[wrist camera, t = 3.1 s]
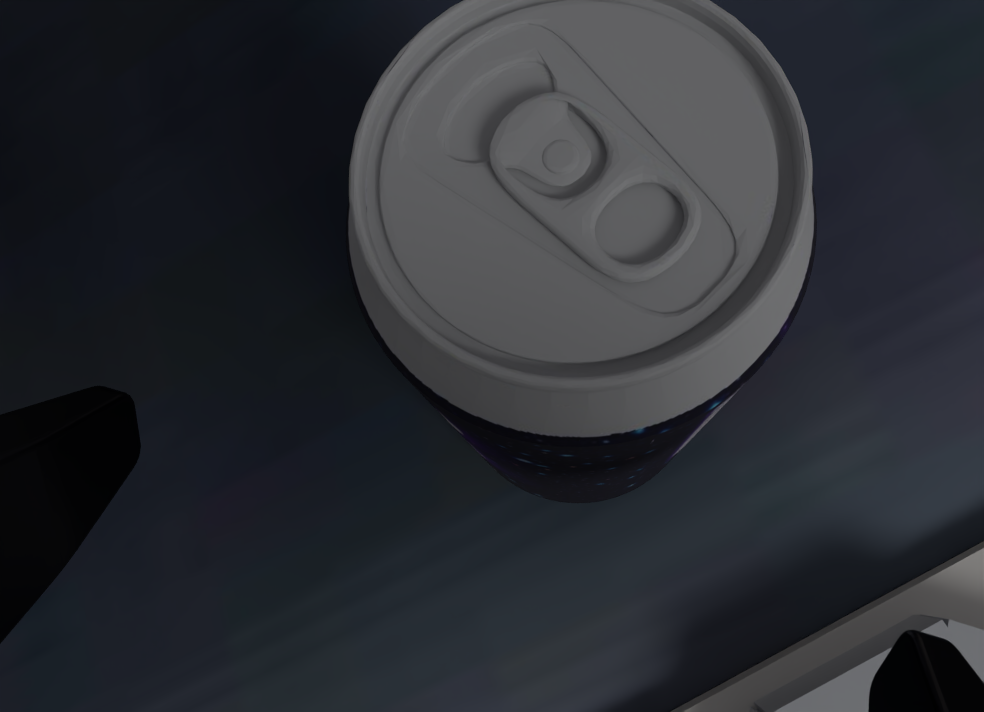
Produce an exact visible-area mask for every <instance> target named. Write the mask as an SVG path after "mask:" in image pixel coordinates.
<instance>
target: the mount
mask: <svg viewBox="0 0 984 712" xmlns="http://www.w3.org/2000/svg"><path fill="white" fill-rule="evenodd" d="M906 630H917V631H920V632H924V633H927V634H930V635H934V636H937V637H940V638H944V639H946V640H948V641H950V642H951V643H952V644H953V645H954V646H955V647H956V648H957V649H958V650H959V651H960V653H961V654H962V655H963V656H964V658H965V659H966V660H967V662H968V663H969V664H970V666H971V667H972V668H973V669H974V671H975V672H976V673H977V675H978V676H979V677H980V678H981V680H982V681H983V682H984V541H983V542H981V543H979V544H978V545H976V546H974V547H972V548H970V549H968V550H967V551H965V552H963V553H961V554H959V555H957V556H955V557H954V558H952V559H950V560H948V561H946V562H944V563H943V564H941V565H939V566H937V567H935V568H933V569H932V570H930V571H928V572H926V573H924V574H922V575H921V576H919V577H917V578H915V579H913V580H911V581H910V582H908V583H906V584H904V585H902V586H900V587H898V588H897V589H895V590H893V591H891V592H889V593H887V594H886V595H884V596H882V597H880V598H878V599H876V600H875V601H873V602H871V603H869V604H867V605H865V606H864V607H862V608H860V609H858V610H856V611H854V612H853V613H851V614H849V615H847V616H845V617H843V618H841V619H840V620H838V621H836V622H834V623H832V624H830V625H829V626H827V627H825V628H823V629H821V630H819V631H818V632H816V633H814V634H812V635H810V636H808V637H807V638H805V639H803V640H801V641H799V642H797V643H796V644H794V645H792V646H790V647H788V648H786V649H784V650H783V651H781V652H779V653H777V654H775V655H773V656H772V657H770V658H768V659H766V660H764V661H762V662H761V663H759V664H757V665H755V666H753V667H751V668H750V669H748V670H746V671H744V672H742V673H740V674H739V675H737V676H735V677H733V678H731V679H729V680H727V681H726V682H724V683H722V684H720V685H718V686H716V687H715V688H713V689H711V690H709V691H707V692H705V693H704V694H702V695H700V696H698V697H696V698H694V699H693V700H691V701H689V702H687V703H685V704H683V705H682V706H680V707H678V708H676V709H674V710H672V711H670V712H868V709H869V692H870V687H871V683H872V680H873V678H874V676H875V674H876V672H877V671H878V669H879V667H880V666H881V664H882V663H883V661H884V660H885V658H886V657H887V655H888V653H889V652H890V650H891V649H892V647H893V646H894V644H895V642H896V641H897V639H898V638H899V636H900V635H901V634H902V633H903V632H905V631H906Z"/></svg>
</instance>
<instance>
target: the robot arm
mask: <svg viewBox="0 0 984 712" xmlns="http://www.w3.org/2000/svg"><path fill="white" fill-rule="evenodd" d="M140 448H141V444H140V437H139V430H138V424H137V417H136V410H135V404H134V401H133V399H132V398H131V396H130V395H128V394H127V393H124V392H121V391H118V390H114V389H111V388H108V387H104V386H94V387H90V388H87V389H83V390H80V391H77V392H74V393H70V394H67V395H64V396H61V397H57V398H54V399H51V400H47V401H44V402H41V403H38V404H34V405H31V406H28V407H25V408H21V409H18V410H15V411H11V412H8V413H5V414H2V415H0V643H1V642H2V641H3V640H4V639H5V638H6V636H7V635H8V634H9V633H10V632H11V630H12V629H13V628H14V627H15V626H16V625H17V623H18V622H19V621H20V620H21V619H22V617H23V616H24V615H25V614H26V613H27V612H28V610H29V609H30V608H31V607H32V606H33V604H34V603H35V602H36V601H37V600H38V598H39V597H40V596H41V595H42V594H43V593H44V591H45V590H46V589H47V588H48V587H49V585H50V584H51V583H52V582H53V581H54V579H55V578H56V577H57V576H58V574H59V573H60V572H61V571H62V569H63V568H64V567H65V566H66V564H67V563H68V562H69V560H70V559H71V557H72V556H73V555H74V553H75V552H76V551H77V549H78V548H79V546H80V545H81V543H82V542H83V541H84V539H85V538H86V536H87V535H88V533H89V532H90V530H91V529H92V527H93V526H94V525H95V523H96V522H97V520H98V519H99V517H100V516H101V514H102V513H103V512H104V510H105V509H106V507H107V506H108V504H109V503H110V501H111V500H112V498H113V497H114V496H115V494H116V493H117V491H118V490H119V488H120V487H121V485H122V484H123V482H124V481H125V480H126V478H127V477H128V475H129V474H130V472H131V471H132V469H133V468H134V466H135V464H136V463H137V460H138V458H139V454H140ZM868 712H984V682H983V681H982V680H981V678H980V677H979V676H978V675H977V673H976V672H975V671H974V669H973V668H972V667H971V666H970V664H969V663H968V662H967V660H966V659H965V658H964V656H963V655H962V654H961V653H960V651H959V650H958V649H957V648H956V647H955V646H954V645H953V644H952V643H951V642H950V641H948V640H946V639H944V638H940V637H937V636H934V635H930V634H927V633H924V632H920V631H917V630H906V631H905V632H903V633H902V634H901V635H900V636H899V638H898V639H897V641H896V642H895V644H894V646H893V647H892V649H891V650H890V652H889V653H888V655H887V657H886V658H885V660H884V661H883V663H882V664H881V666H880V667H879V669H878V671H877V672H876V674H875V676H874V678H873V680H872V683H871V687H870V692H869V709H868Z"/></svg>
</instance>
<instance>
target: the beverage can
mask: <svg viewBox="0 0 984 712" xmlns="http://www.w3.org/2000/svg"><path fill="white" fill-rule="evenodd" d="M816 231H817V218H816V203H815V197H814V190H813V185H812V156H811V150H810V143H809V137H808V130H807V126H806V123H805V120H804V117H803V114H802V111H801V108H800V105H799V102H798V99H797V96H796V94H795V92H794V90H793V89H792V87H791V85H790V83H789V81H788V79H787V78H786V76H785V74H784V72H783V70H782V68H781V67H780V65H779V64H778V63H777V61H776V60H775V59H774V58H773V56H772V55H771V54H770V53H769V51H768V50H767V49H766V47H765V46H764V45H763V44H762V42H761V41H760V40H759V39H758V38H757V37H756V36H755V35H754V34H753V33H751V32H750V31H749V30H748V29H747V28H746V27H745V26H744V25H743V24H742V23H741V22H739V21H738V20H737V19H736V18H735V17H734V16H732V15H731V14H729V13H728V12H726V11H725V10H723V9H722V8H720V7H719V6H717V5H716V4H714V3H713V2H711V1H710V0H463V1H461V2H460V3H458V4H456V5H454V6H452V7H451V8H449V9H448V10H446V11H445V12H444V13H442V14H441V15H440V16H438V17H437V18H436V19H434V20H433V21H432V22H430V23H429V24H428V25H426V26H425V27H424V28H423V29H422V30H421V31H420V32H419V33H418V34H417V35H416V36H414V37H413V38H412V39H411V40H410V41H409V42H408V43H407V44H406V45H405V46H404V47H403V48H402V49H401V50H400V52H399V53H398V54H397V56H396V57H395V58H394V60H393V61H392V62H391V64H390V65H389V66H388V68H387V69H386V70H385V72H384V73H383V74H382V76H381V77H380V79H379V81H378V83H377V85H376V86H375V88H374V90H373V92H372V94H371V96H370V98H369V99H368V101H367V103H366V105H365V108H364V111H363V114H362V117H361V119H360V122H359V125H358V128H357V131H356V134H355V138H354V144H353V149H352V155H351V161H350V167H349V204H348V211H347V222H346V246H347V258H348V264H349V271H350V276H351V280H352V284H353V288H354V292H355V295H356V298H357V300H358V303H359V306H360V309H361V311H362V313H363V316H364V318H365V320H366V322H367V324H368V326H369V328H370V330H371V332H372V334H373V335H374V337H375V339H376V340H377V342H378V343H379V345H380V346H381V348H382V349H383V351H384V352H385V354H386V355H387V356H388V358H389V359H390V360H391V361H392V363H393V364H394V365H395V366H396V367H397V369H398V370H399V371H400V372H401V373H402V374H403V375H404V376H405V377H406V378H407V379H408V380H409V381H410V383H411V384H412V385H413V386H414V387H415V388H416V389H417V390H418V391H419V392H420V393H421V394H422V395H423V396H424V397H425V398H426V399H427V400H428V401H429V402H430V403H431V404H432V405H433V406H434V407H435V408H436V409H437V410H438V411H439V413H440V414H441V415H442V416H443V417H444V418H445V419H446V420H447V421H448V422H449V423H450V424H451V425H452V426H453V427H454V428H455V429H456V430H457V431H458V432H459V433H460V434H461V435H462V436H463V437H464V438H465V439H466V440H467V441H468V443H469V444H470V445H471V446H472V447H473V448H474V449H475V450H476V451H477V452H478V453H479V454H480V455H481V456H482V457H483V458H484V459H485V460H486V461H487V462H488V463H489V464H490V465H491V466H492V467H493V468H494V469H495V470H496V471H497V472H498V473H499V474H500V475H501V476H503V477H504V478H505V479H507V480H508V481H509V482H511V483H512V484H514V485H515V486H517V487H519V488H521V489H523V490H525V491H527V492H529V493H531V494H534V495H536V496H539V497H542V498H546V499H549V500H554V501H559V502H568V503H589V502H597V501H602V500H607V499H611V498H614V497H617V496H620V495H623V494H625V493H627V492H630V491H632V490H634V489H636V488H637V487H639V486H641V485H643V484H644V483H645V482H647V481H648V480H650V479H651V478H652V477H654V476H655V475H656V474H657V473H658V472H659V471H660V470H661V469H663V468H664V467H665V466H666V465H667V464H668V462H669V461H670V460H671V459H672V458H673V457H674V456H675V455H676V454H677V453H678V452H679V451H680V450H681V449H682V448H683V447H684V446H685V445H686V444H687V443H688V442H689V441H690V440H691V439H692V438H693V437H694V436H695V435H696V434H697V433H698V432H699V431H700V429H701V428H702V427H703V426H704V425H705V424H706V423H707V422H708V421H709V420H710V419H711V418H712V417H713V416H714V415H715V414H716V413H717V412H718V411H719V410H720V409H721V408H722V407H723V406H724V405H725V404H726V403H727V402H728V401H729V400H730V399H731V397H732V396H733V395H734V394H735V393H736V392H737V391H738V390H739V389H740V388H741V387H742V386H743V385H744V384H745V383H746V382H747V381H748V380H749V379H750V378H751V377H752V376H753V375H754V374H755V373H756V372H757V371H758V369H759V368H760V367H761V366H762V365H763V364H764V363H765V361H766V360H767V359H768V358H769V357H770V356H771V354H772V353H773V351H774V350H775V349H776V347H777V346H778V345H779V343H780V342H781V340H782V339H783V337H784V335H785V334H786V332H787V331H788V329H789V327H790V326H791V324H792V322H793V320H794V318H795V316H796V314H797V312H798V310H799V307H800V305H801V302H802V300H803V297H804V295H805V292H806V289H807V285H808V282H809V279H810V275H811V271H812V266H813V261H814V255H815V246H816Z"/></svg>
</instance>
